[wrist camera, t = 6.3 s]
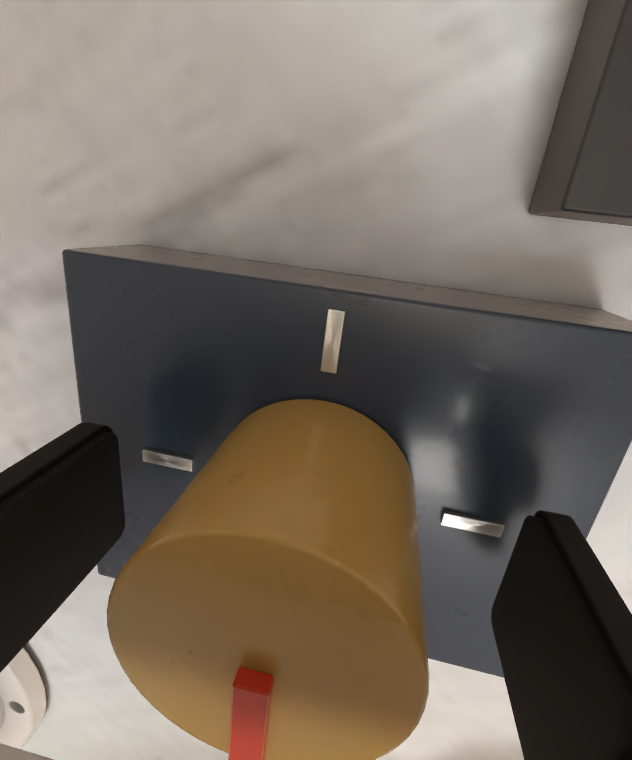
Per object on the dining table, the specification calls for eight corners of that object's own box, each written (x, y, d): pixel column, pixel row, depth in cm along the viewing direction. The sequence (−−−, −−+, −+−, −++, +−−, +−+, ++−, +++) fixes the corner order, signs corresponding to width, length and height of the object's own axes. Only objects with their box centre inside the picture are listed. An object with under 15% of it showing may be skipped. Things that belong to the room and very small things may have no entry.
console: (149, 514, 16) (93, 579, 13) (137, 244, 12) (54, 249, 9) (496, 594, 14) (522, 689, 11) (604, 309, 10) (686, 341, 7)
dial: (221, 380, 10) (74, 510, 5) (435, 419, 9) (475, 605, 5) (217, 544, 11) (104, 742, 7) (394, 585, 11) (393, 831, 6)
